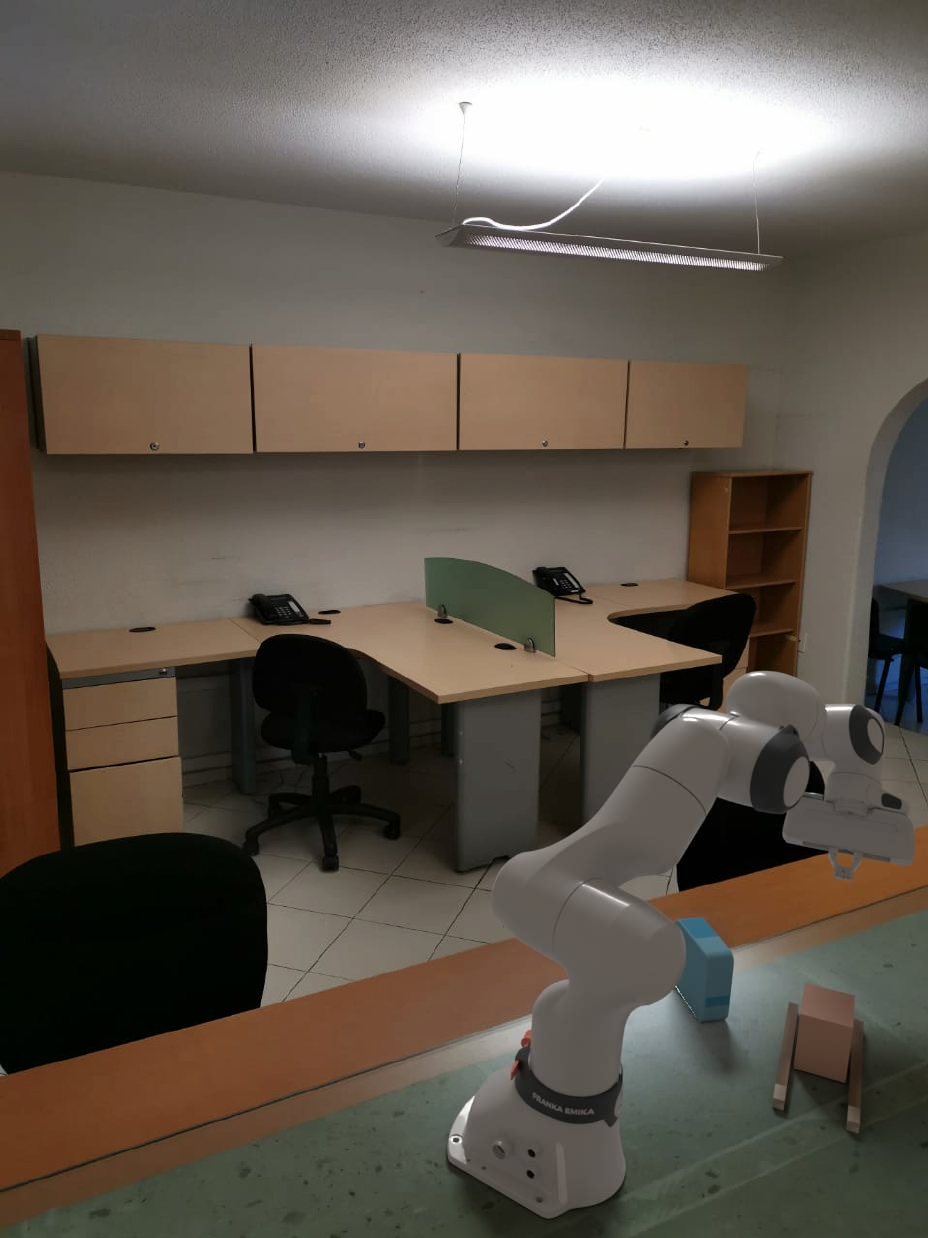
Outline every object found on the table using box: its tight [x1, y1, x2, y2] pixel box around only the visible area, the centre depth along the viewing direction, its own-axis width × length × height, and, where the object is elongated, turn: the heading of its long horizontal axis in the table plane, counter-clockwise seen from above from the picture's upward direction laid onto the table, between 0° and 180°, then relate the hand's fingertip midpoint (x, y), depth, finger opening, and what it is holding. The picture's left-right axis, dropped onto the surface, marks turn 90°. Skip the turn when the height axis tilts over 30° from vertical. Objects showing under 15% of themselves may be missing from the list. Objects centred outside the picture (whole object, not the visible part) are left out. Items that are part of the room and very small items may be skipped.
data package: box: [674, 916, 735, 1023], centre depth 149 cm, size 12×4×12 cm, turn 12°
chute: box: [771, 1001, 865, 1134], centre depth 136 cm, size 11×23×2 cm, turn 156°
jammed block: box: [793, 982, 856, 1084], centre depth 136 cm, size 7×8×9 cm
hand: (842, 878), depth 151 cm, fingers closed
